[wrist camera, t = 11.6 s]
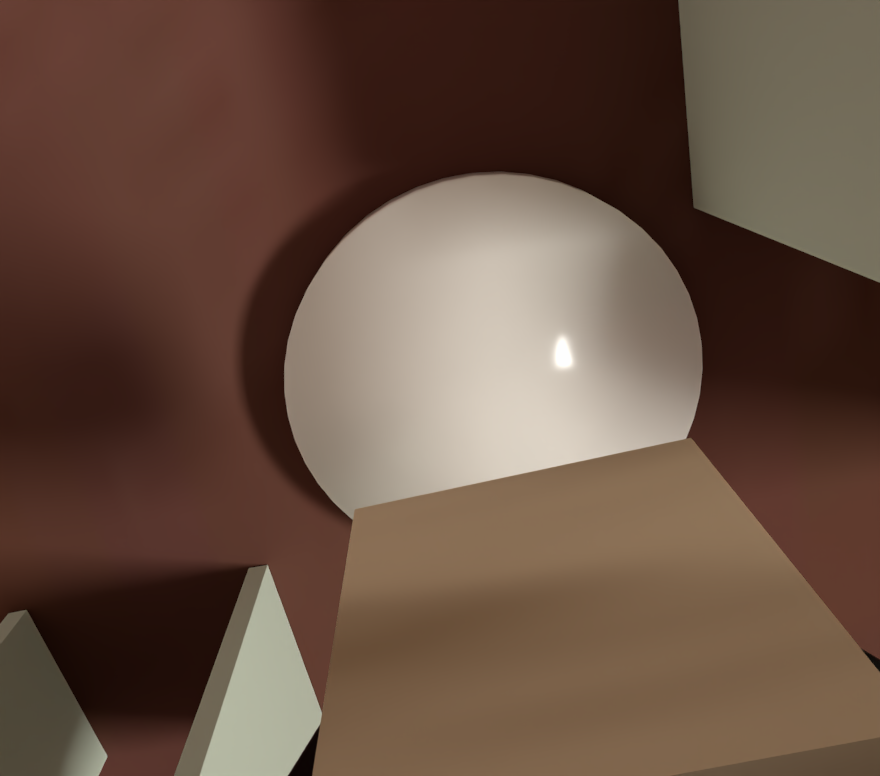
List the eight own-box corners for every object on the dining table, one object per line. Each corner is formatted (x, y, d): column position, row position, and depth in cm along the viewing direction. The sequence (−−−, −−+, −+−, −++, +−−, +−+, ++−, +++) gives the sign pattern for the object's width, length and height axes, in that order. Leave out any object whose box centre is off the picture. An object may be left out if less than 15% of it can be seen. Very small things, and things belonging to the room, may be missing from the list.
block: (716, 692, 9) (905, 1068, 6) (432, 746, 10) (438, 1141, 6) (691, 437, 8) (923, 727, 4) (354, 509, 8) (302, 843, 5)
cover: (323, 718, 20) (283, 986, 14) (91, 759, 20) (-47, 1038, 14) (267, 564, 18) (191, 802, 12) (8, 613, 18) (-194, 868, 12)
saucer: (768, 344, 16) (789, 359, 15) (509, 597, 18) (514, 624, 17) (462, 72, 13) (466, 71, 12) (215, 407, 16) (203, 426, 15)
